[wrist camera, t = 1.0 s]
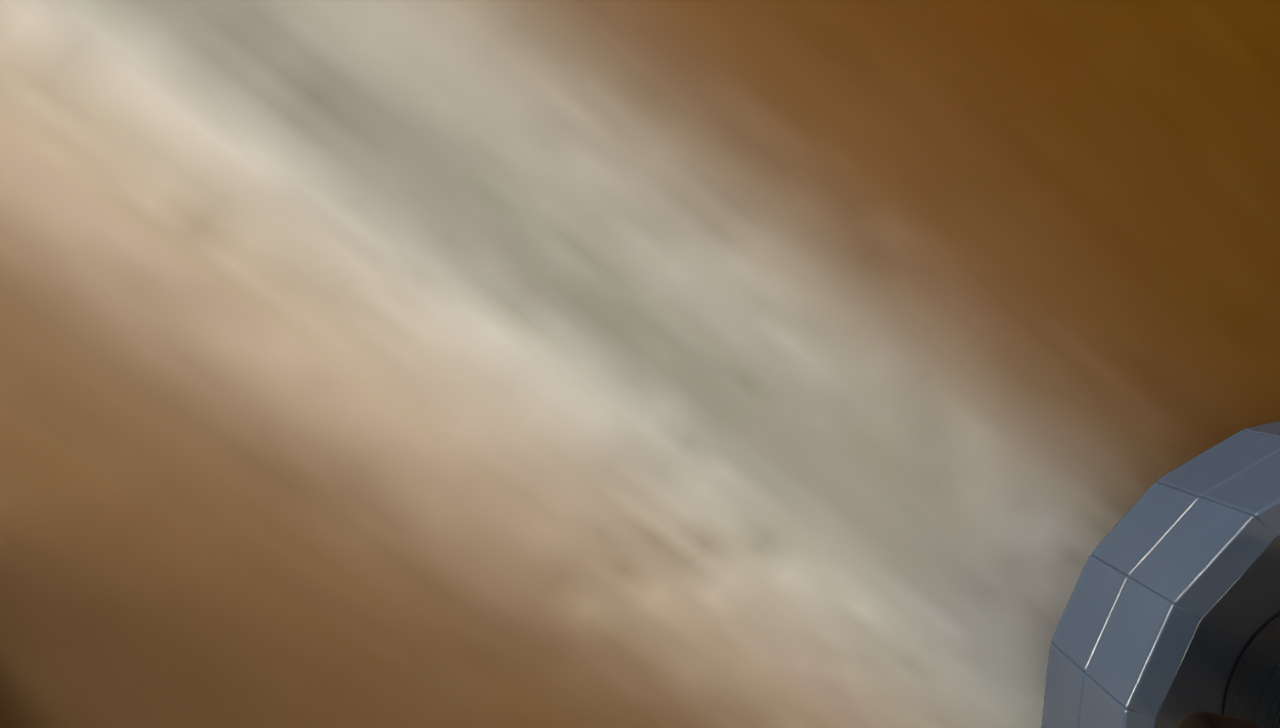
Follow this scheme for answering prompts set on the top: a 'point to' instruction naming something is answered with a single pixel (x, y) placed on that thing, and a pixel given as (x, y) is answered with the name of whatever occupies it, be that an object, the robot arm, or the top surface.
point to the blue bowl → (1173, 594)
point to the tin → (1257, 680)
